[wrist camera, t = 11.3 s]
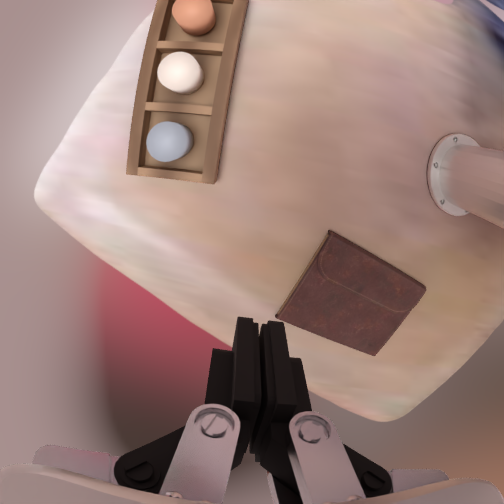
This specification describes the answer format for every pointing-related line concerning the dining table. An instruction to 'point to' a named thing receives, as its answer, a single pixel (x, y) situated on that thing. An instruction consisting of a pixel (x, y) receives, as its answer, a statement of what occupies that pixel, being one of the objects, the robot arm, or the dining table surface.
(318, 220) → the dining table surface
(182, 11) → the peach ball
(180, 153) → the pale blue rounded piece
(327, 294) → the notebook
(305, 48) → the dining table surface
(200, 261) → the dining table surface
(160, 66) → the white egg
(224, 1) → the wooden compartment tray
